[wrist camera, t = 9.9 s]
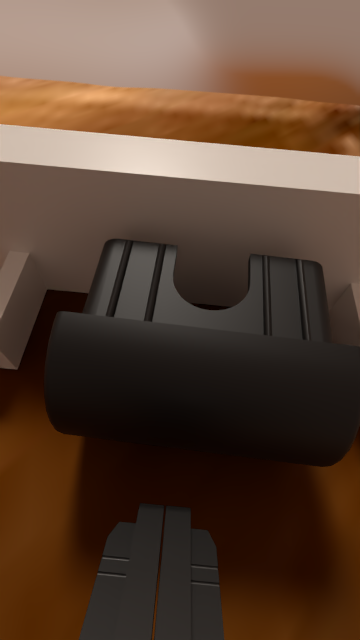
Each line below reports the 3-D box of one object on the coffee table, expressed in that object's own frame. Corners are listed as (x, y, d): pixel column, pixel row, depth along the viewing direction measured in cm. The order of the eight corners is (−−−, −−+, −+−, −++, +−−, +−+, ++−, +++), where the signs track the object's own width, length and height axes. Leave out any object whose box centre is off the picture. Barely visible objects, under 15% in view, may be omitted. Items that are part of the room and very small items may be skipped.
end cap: (74, 450, 15) (19, 402, 9) (110, 316, 19) (86, 223, 13) (300, 480, 15) (388, 449, 9) (290, 338, 18) (348, 252, 13)
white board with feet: (-43, 363, 17) (-183, 251, 10) (10, 253, 21) (-66, 118, 14) (401, 407, 17) (567, 323, 10) (370, 287, 20) (473, 166, 14)
